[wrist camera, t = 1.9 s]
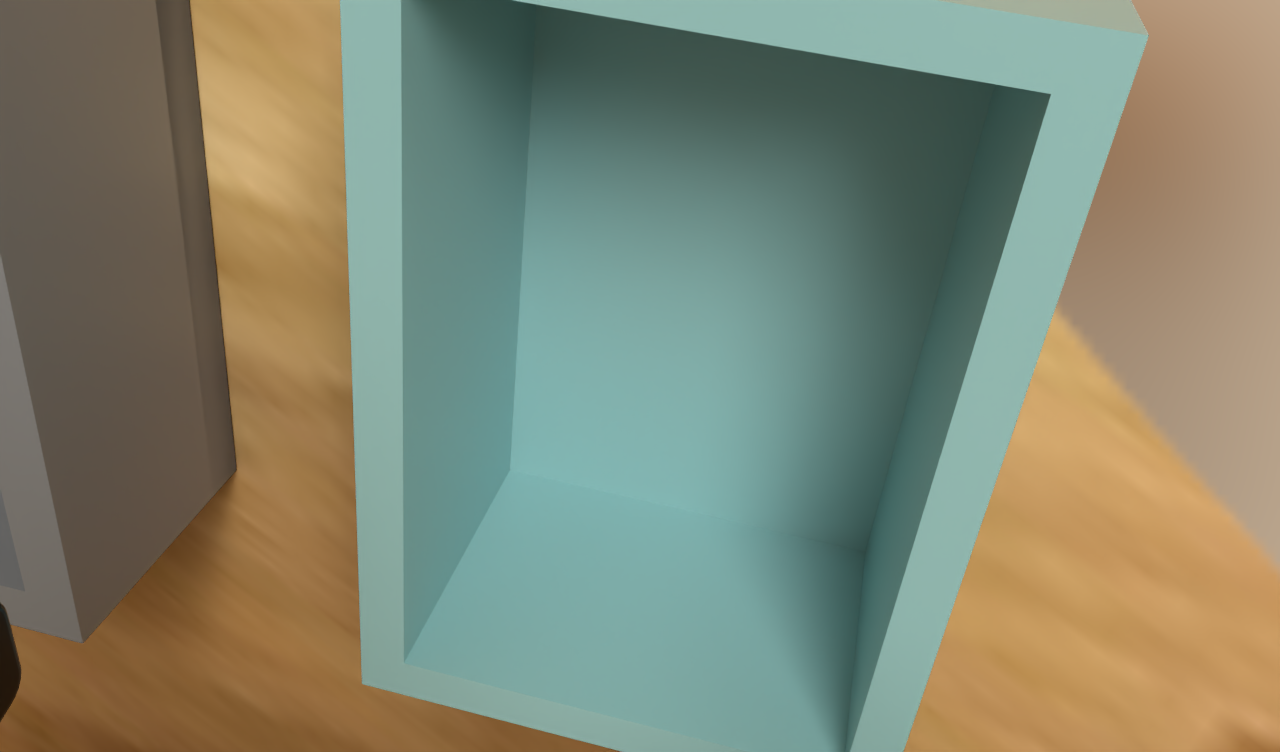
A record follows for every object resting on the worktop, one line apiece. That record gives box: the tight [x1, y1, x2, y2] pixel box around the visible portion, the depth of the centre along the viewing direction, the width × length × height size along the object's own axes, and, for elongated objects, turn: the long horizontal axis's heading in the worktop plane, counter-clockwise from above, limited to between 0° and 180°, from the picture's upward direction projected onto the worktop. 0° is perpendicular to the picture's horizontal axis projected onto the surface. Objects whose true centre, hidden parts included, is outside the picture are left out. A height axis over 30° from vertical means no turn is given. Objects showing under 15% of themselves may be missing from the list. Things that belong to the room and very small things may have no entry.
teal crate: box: [340, 0, 1149, 752], centre depth 15 cm, size 7×10×5 cm
